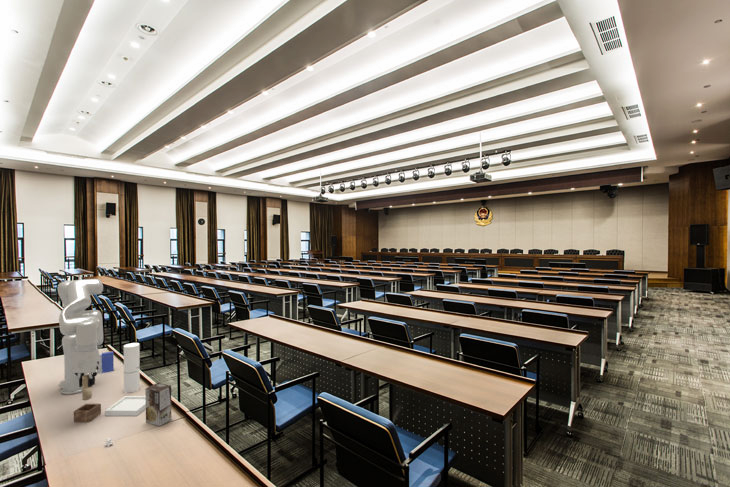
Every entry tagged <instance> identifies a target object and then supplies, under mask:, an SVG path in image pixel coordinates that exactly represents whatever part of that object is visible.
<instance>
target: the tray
mask: <svg viewBox="0 0 730 487" xmlns="http://www.w3.org/2000/svg"><path fill="white" fill-rule="evenodd" d="M144 411H146V396H145V395H125V396H123V397H121V398H120V399H119V400H117V401H116V402H115V403H113V404H112V405H111V406H109V407H108V408H106V409H105V410H104V416H107V417H108V416H109V417H111V416H112V417H113V416H114V417H115V416H116V417H117V416H118V417H120V416H122V417H138V416H139V415H140V414H141V413H142V412H144Z"/></svg>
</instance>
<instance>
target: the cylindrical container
mask: <svg viewBox="0 0 730 487" xmlns="http://www.w3.org/2000/svg"><path fill="white" fill-rule="evenodd" d="M140 360H141V358H140V343H139V342H131V343H126V344H124V345H123V393H127V394H129V393H135V392H137V391H139V390H140V389H141V386H140V385H141V384H140V382H141V381H140V380H141V378H140V377H141V374H140V370H141V369H140V368H141V367H140V365H141V364H140V363H141V362H140Z"/></svg>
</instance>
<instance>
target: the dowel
mask: <svg viewBox="0 0 730 487" xmlns="http://www.w3.org/2000/svg"><path fill="white" fill-rule="evenodd" d="M88 379H89V373H88V374H86V375H83V376H82V392H81V393H82V396H81V397H82V401H88V400H91V399H92V398H93V388H92V387H93V386H91V387H88Z"/></svg>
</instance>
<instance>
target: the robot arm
mask: <svg viewBox="0 0 730 487" xmlns="http://www.w3.org/2000/svg"><path fill="white" fill-rule="evenodd" d="M103 291H104V285H103V282H102V281H101V279H99V278H88V279H85V278H84V279H75V280H74V279H73V280H65V281H62V282H59V283H58V285H57V294H58V297H59V298H60V300H61V302H62V304H63V309H62V310H61V312H60V313H59V317H58V323H59V331H60V333H61V334H62V335H63V336H62V337H61V338H62V339H61V344H62V350H63V357H64V362H63V364H64V380H61V381H60V382H59V384H58V387H62V389H61V390H60V393H61V394H62V395H75V394H79V393H82V376H83V375H86V374H89V379H88V387H91V386H92V387H93V386H94V385H95V384H96V376H98V375H99V374H98V373H100V372H102V369H101V367H100V350H99V348H98V346H101V345H102V344H103V342H104V326H103V315H102V313H101V311H100V310H98V309H90V310H89V309H88V308H89V307H90V306H91V305H92V298H91V296H92V295H94V296H95V295H101V294H102V292H103ZM86 309H88V310H86ZM100 374H101V373H100Z"/></svg>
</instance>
